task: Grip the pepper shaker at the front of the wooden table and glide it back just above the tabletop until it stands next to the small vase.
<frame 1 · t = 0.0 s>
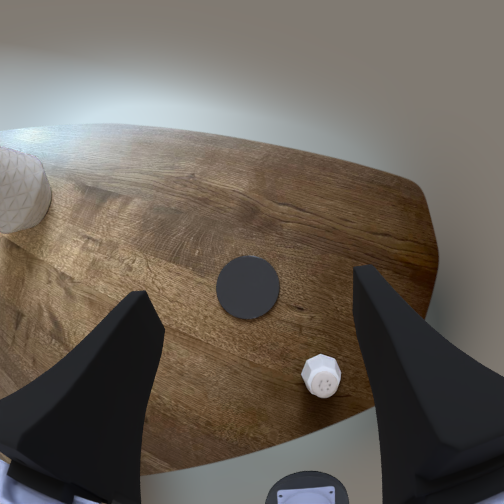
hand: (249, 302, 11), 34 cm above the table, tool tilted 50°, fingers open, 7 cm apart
slate coaster: (247, 287, 46), on the table
pepper shaker: (320, 373, 41), on the table
vase 2: (35, 204, 59), on the table
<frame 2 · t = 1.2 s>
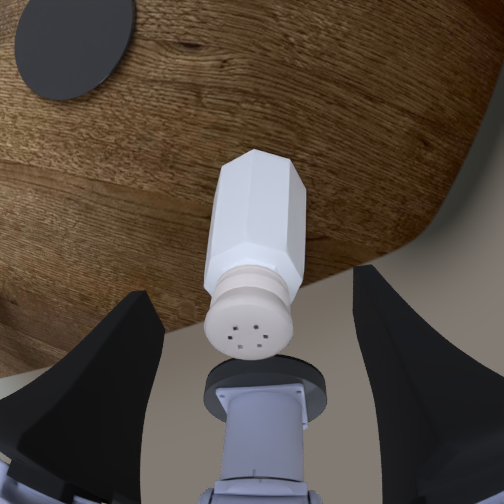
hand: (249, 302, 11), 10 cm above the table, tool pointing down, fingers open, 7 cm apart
slate coaster: (69, 30, 13), on the table
pepper shaker: (259, 190, 19), on the table
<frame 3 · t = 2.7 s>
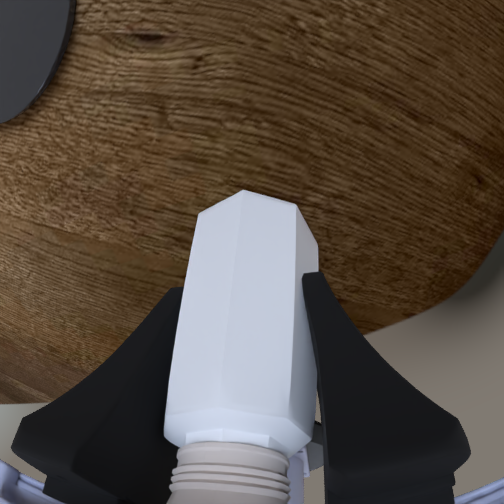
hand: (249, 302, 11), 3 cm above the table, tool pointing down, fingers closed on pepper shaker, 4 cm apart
slate coaster: (0, 32, 8), on the table
pepper shaker: (253, 244, 14), on the table, touching gripper
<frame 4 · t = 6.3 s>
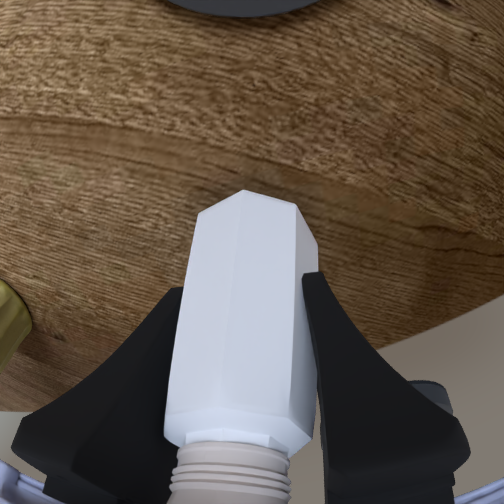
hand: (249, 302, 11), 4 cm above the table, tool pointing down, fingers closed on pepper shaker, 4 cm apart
pepper shaker: (253, 244, 14), point 1 cm above the table, touching gripper
vase: (4, 301, 19), on the table
when the fingers open (3 cm above the table, at t = 10.0 s): pepper shaker stays where it is, on the table.
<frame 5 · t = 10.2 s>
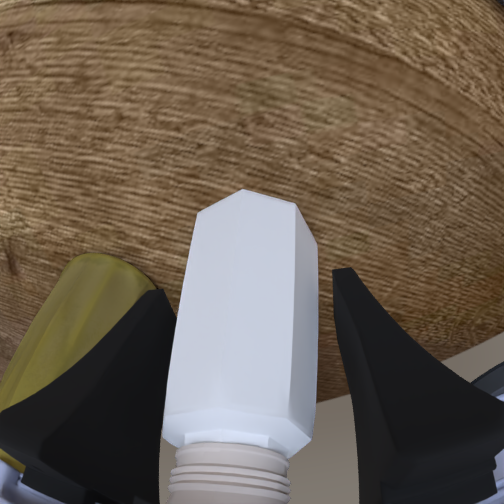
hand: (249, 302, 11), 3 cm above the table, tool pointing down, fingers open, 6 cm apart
pepper shaker: (252, 244, 14), on the table
vase: (113, 295, 16), on the table, touching gripper
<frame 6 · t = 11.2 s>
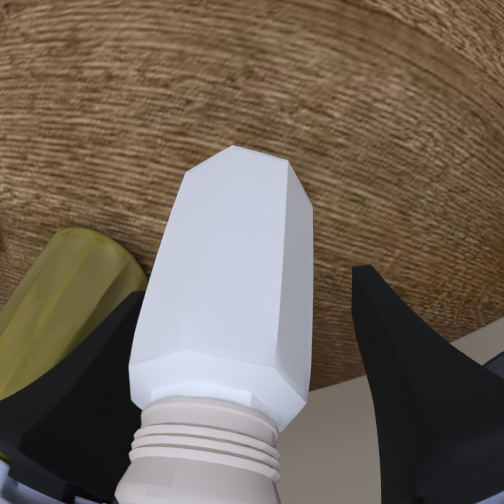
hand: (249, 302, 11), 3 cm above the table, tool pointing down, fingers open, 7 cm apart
pepper shaker: (243, 207, 13), on the table
vase: (98, 272, 15), on the table, touching gripper
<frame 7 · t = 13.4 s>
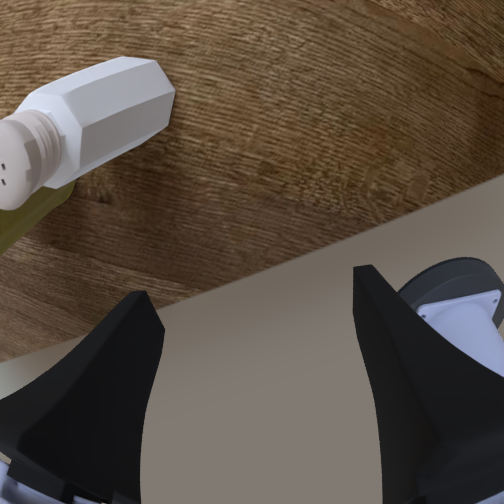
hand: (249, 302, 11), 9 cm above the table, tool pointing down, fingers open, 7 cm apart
pepper shaker: (132, 99, 16), on the table
vase: (44, 164, 18), on the table
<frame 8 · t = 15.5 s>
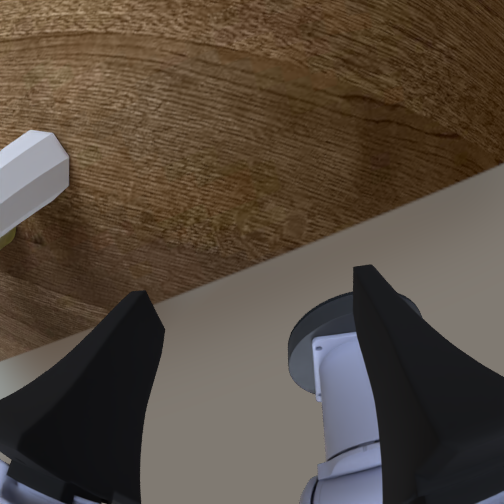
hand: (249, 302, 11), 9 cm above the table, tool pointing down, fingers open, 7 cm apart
pepper shaker: (43, 163, 18), on the table
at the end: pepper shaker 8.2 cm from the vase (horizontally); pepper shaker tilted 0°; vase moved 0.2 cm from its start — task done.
